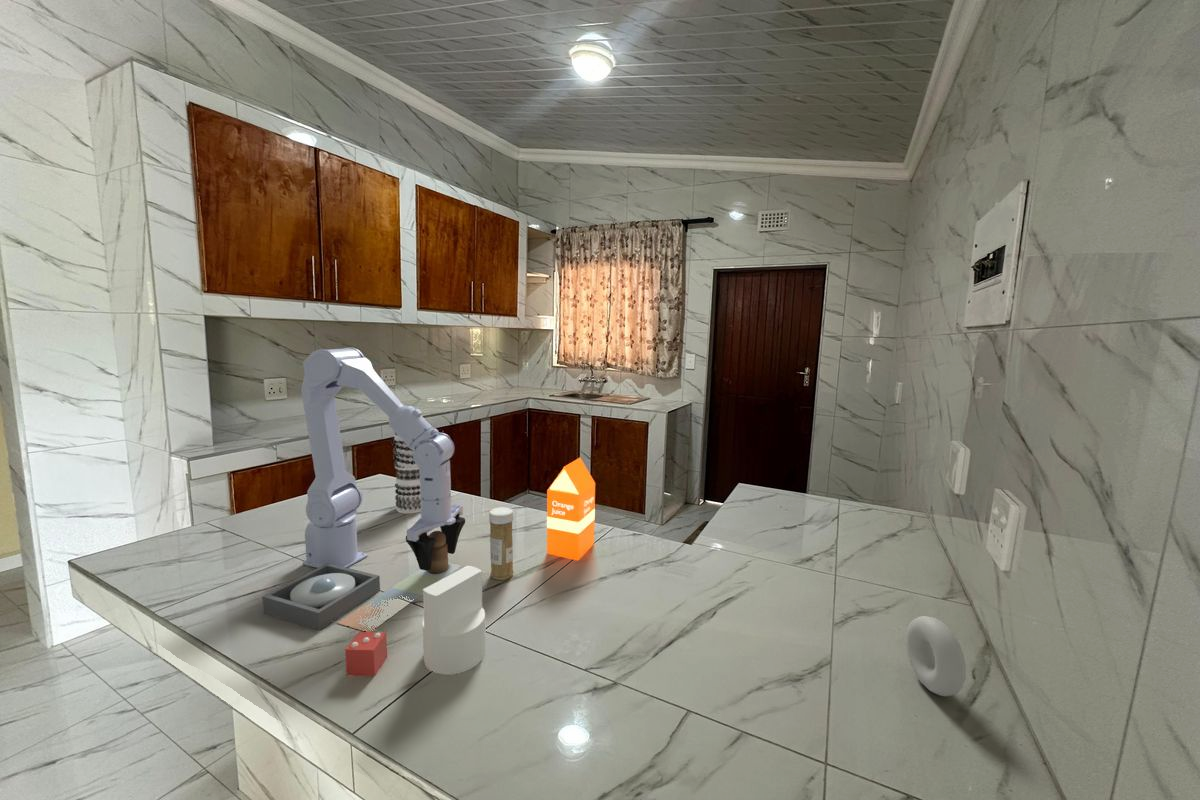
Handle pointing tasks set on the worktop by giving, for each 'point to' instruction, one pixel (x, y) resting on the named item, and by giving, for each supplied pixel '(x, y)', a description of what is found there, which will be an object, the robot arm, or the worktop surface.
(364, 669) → the red die
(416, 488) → the decorative candle
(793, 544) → the worktop surface
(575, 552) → the orange juice
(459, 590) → the cylinder with rectangular tab
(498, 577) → the sprinkles bottle
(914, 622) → the donut
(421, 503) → the robot arm
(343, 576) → the dome
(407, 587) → the strip
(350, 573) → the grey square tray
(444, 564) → the walnut pawn
